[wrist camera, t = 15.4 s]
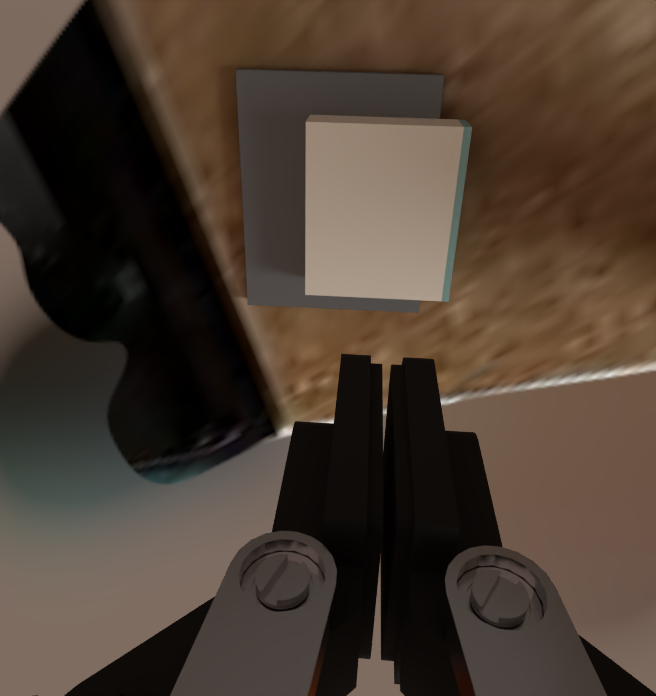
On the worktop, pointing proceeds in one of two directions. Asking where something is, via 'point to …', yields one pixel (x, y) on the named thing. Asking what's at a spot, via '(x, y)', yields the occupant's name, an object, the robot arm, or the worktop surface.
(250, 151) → the rubber mat
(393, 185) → the cream tile
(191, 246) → the worktop surface
